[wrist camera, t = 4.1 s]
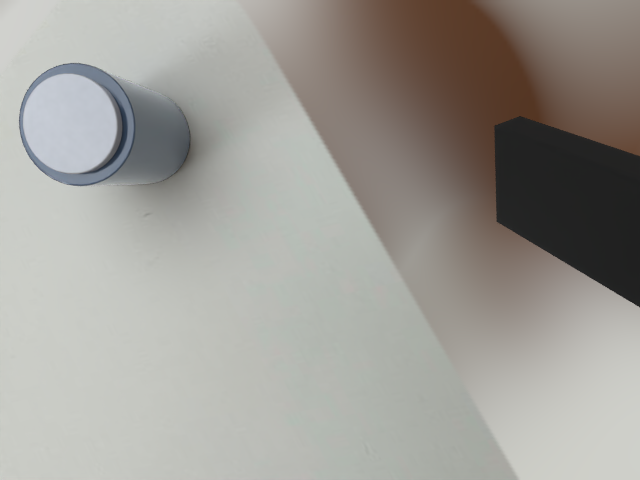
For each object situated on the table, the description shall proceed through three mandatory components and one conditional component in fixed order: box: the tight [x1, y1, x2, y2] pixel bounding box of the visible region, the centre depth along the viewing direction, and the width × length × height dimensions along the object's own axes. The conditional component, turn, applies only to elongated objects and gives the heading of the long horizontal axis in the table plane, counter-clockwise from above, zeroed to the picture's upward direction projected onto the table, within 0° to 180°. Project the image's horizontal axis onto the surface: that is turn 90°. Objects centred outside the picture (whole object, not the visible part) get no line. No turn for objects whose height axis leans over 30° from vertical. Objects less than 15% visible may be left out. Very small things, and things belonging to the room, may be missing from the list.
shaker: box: [19, 63, 190, 186], centre depth 25 cm, size 5×5×8 cm
